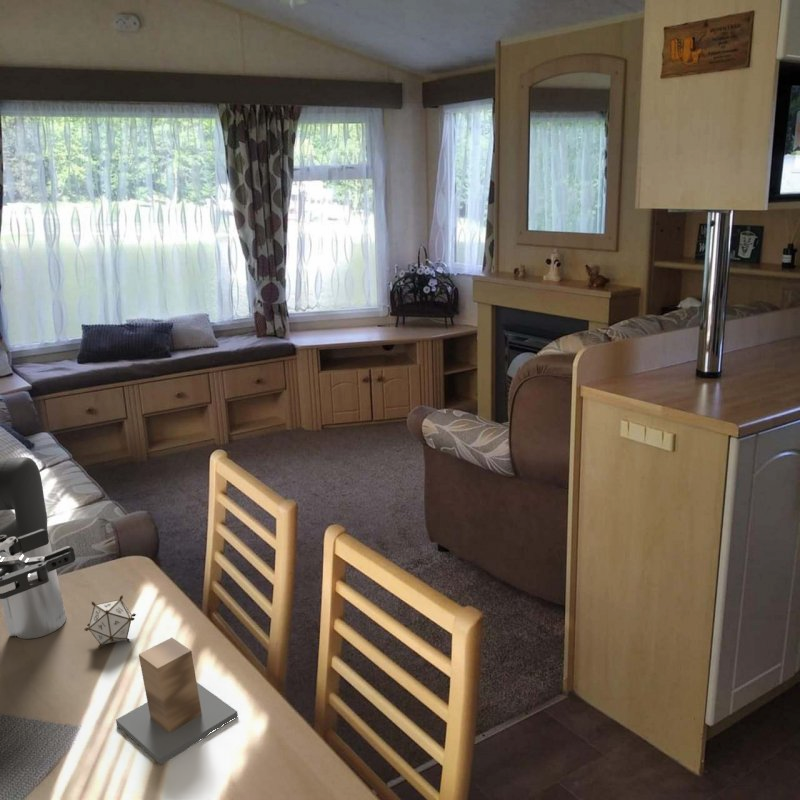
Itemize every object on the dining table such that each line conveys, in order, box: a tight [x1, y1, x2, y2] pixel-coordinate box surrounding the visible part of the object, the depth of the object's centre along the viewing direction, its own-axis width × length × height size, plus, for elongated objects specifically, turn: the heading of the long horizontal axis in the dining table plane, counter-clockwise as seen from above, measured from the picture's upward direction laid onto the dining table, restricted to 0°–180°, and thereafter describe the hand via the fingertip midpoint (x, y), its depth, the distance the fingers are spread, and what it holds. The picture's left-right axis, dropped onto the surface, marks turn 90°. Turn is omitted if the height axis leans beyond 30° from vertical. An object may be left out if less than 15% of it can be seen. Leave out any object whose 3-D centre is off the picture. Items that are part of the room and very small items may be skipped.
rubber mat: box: [115, 682, 239, 766], centre depth 121 cm, size 13×13×1 cm
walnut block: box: [138, 637, 202, 733], centre depth 119 cm, size 6×6×11 cm
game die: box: [83, 594, 137, 650], centre depth 142 cm, size 9×8×10 cm
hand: (59, 544), depth 109 cm, fingers open, 8 cm apart
